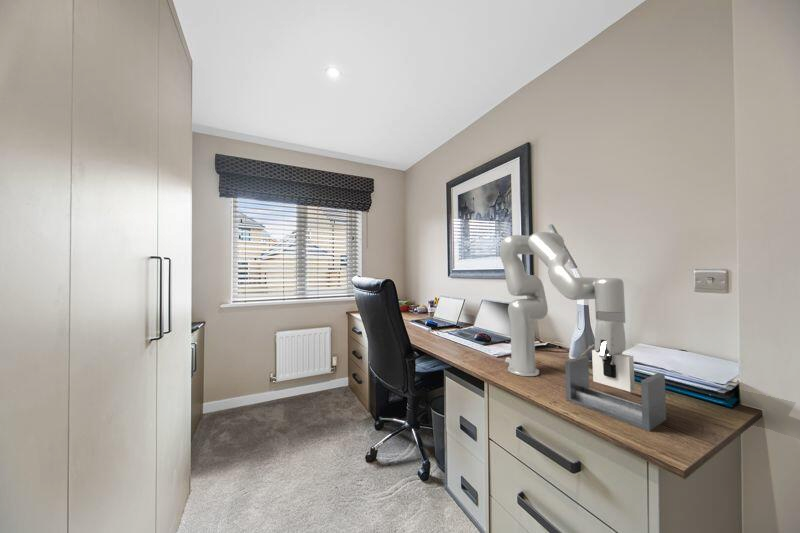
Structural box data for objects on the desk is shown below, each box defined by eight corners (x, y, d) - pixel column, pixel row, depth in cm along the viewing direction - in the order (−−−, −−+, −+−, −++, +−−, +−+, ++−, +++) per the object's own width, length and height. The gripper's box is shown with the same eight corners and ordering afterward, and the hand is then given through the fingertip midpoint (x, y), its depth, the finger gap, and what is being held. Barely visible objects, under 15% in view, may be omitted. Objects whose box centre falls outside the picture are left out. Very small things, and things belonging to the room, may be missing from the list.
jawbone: (591, 379, 125) (616, 376, 112) (577, 384, 124) (600, 380, 110) (575, 349, 131) (597, 342, 118) (561, 352, 130) (581, 346, 116)
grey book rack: (566, 400, 94) (565, 361, 94) (584, 392, 100) (583, 355, 101) (649, 431, 75) (647, 382, 76) (666, 419, 81) (664, 374, 82)
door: (593, 381, 91) (591, 350, 92) (597, 379, 93) (596, 349, 93) (630, 391, 82) (628, 357, 83) (634, 389, 84) (633, 356, 84)
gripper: (608, 313, 96) (611, 367, 95) (583, 317, 88) (586, 377, 87) (635, 316, 89) (638, 374, 89) (611, 320, 81) (614, 384, 80)
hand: (612, 375), depth 88 cm, fingers closed on door, 3 cm apart
